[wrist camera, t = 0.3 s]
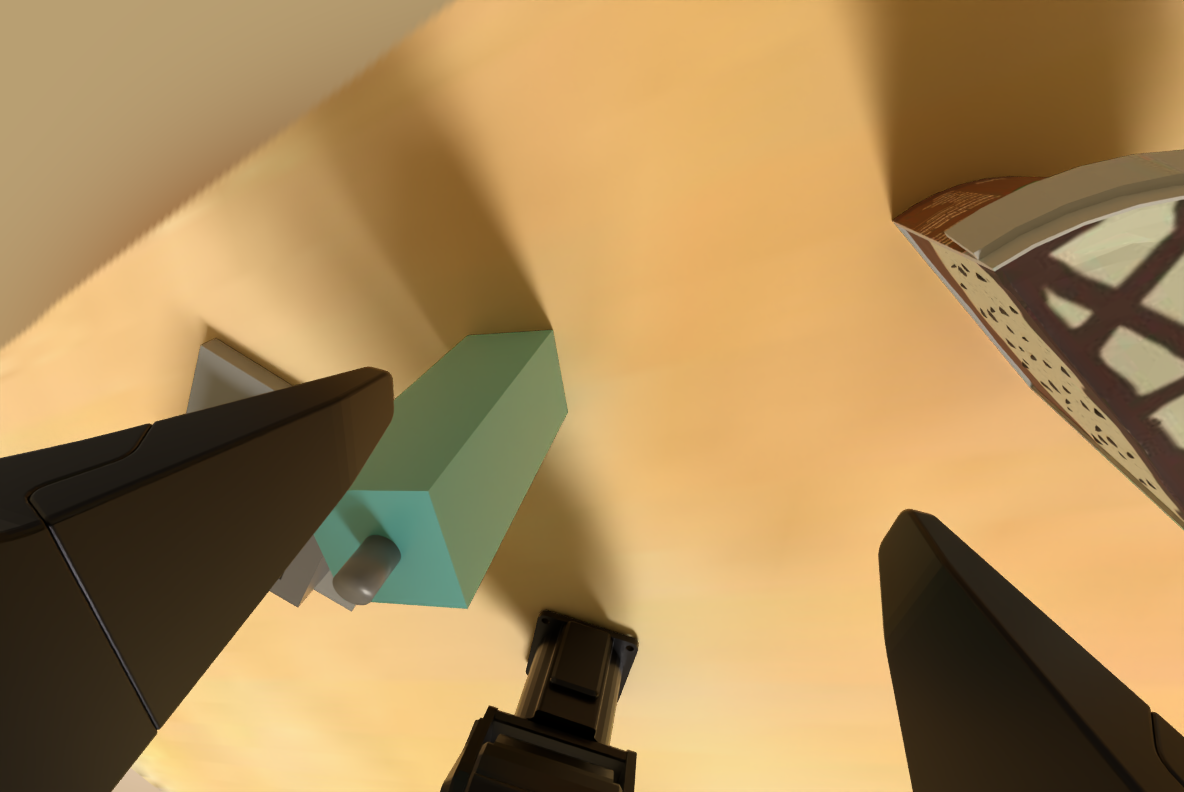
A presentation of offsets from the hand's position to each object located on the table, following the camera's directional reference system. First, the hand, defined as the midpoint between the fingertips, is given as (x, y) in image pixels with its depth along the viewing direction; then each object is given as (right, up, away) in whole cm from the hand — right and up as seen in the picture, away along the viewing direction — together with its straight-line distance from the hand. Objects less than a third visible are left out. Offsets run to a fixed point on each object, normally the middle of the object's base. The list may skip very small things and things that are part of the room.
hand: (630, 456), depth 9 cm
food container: (+16, +6, +11) cm, 20 cm away
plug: (-4, +2, +18) cm, 18 cm away
